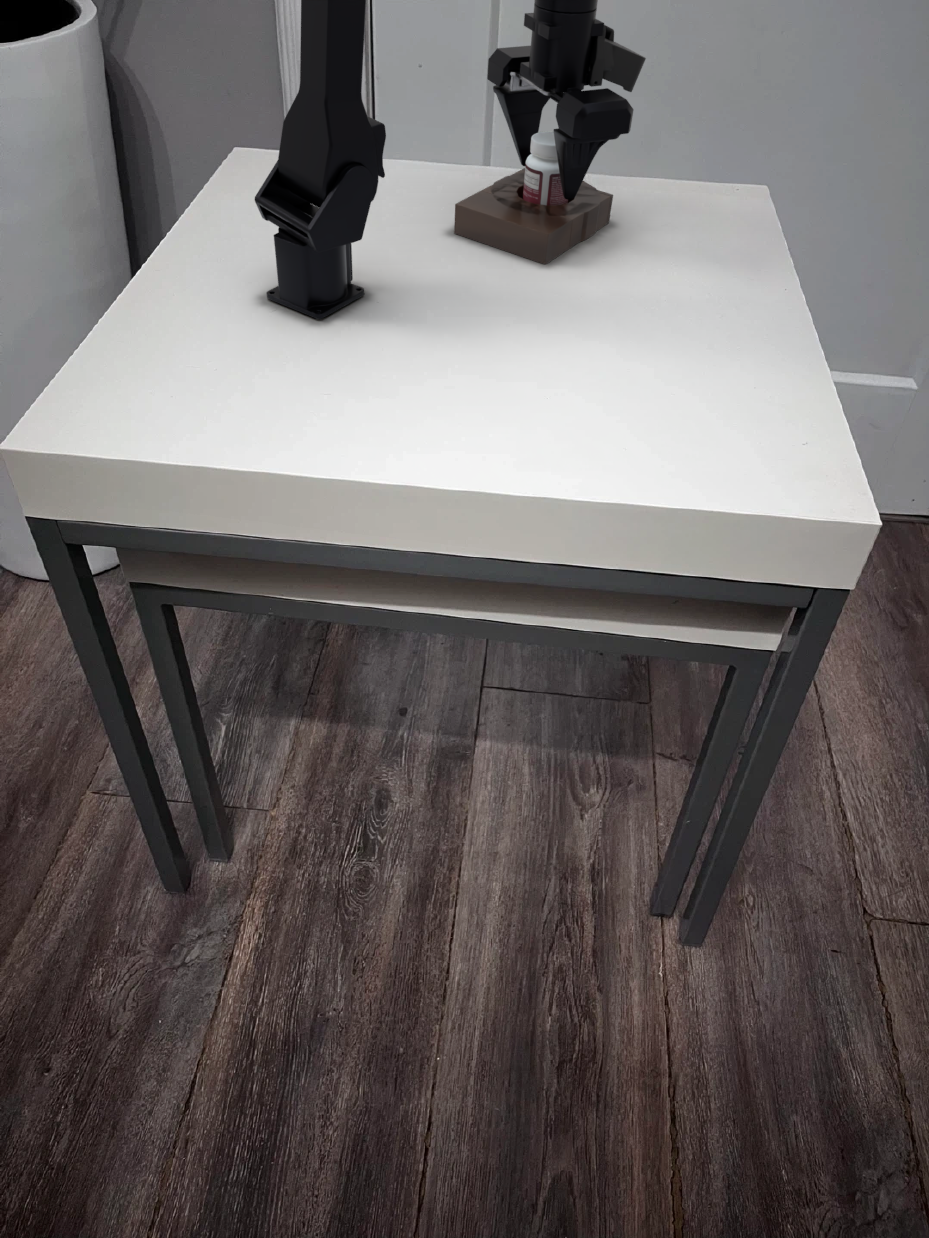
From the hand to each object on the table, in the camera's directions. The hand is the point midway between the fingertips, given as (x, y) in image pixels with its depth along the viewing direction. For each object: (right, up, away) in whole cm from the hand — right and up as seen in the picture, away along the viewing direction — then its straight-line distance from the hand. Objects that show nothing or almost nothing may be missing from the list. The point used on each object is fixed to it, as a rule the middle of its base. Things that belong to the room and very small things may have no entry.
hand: (547, 181), depth 99 cm
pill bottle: (0, -3, +3) cm, 4 cm away
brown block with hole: (-1, -4, +2) cm, 5 cm away
